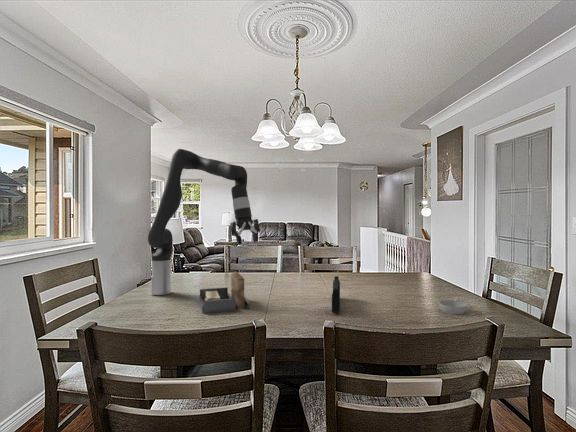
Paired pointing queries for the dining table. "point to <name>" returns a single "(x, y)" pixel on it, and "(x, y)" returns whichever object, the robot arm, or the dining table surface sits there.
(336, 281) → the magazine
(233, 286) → the walnut board
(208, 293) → the offcut stack
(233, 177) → the robot arm
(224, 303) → the grey open tray
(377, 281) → the dining table surface
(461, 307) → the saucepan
